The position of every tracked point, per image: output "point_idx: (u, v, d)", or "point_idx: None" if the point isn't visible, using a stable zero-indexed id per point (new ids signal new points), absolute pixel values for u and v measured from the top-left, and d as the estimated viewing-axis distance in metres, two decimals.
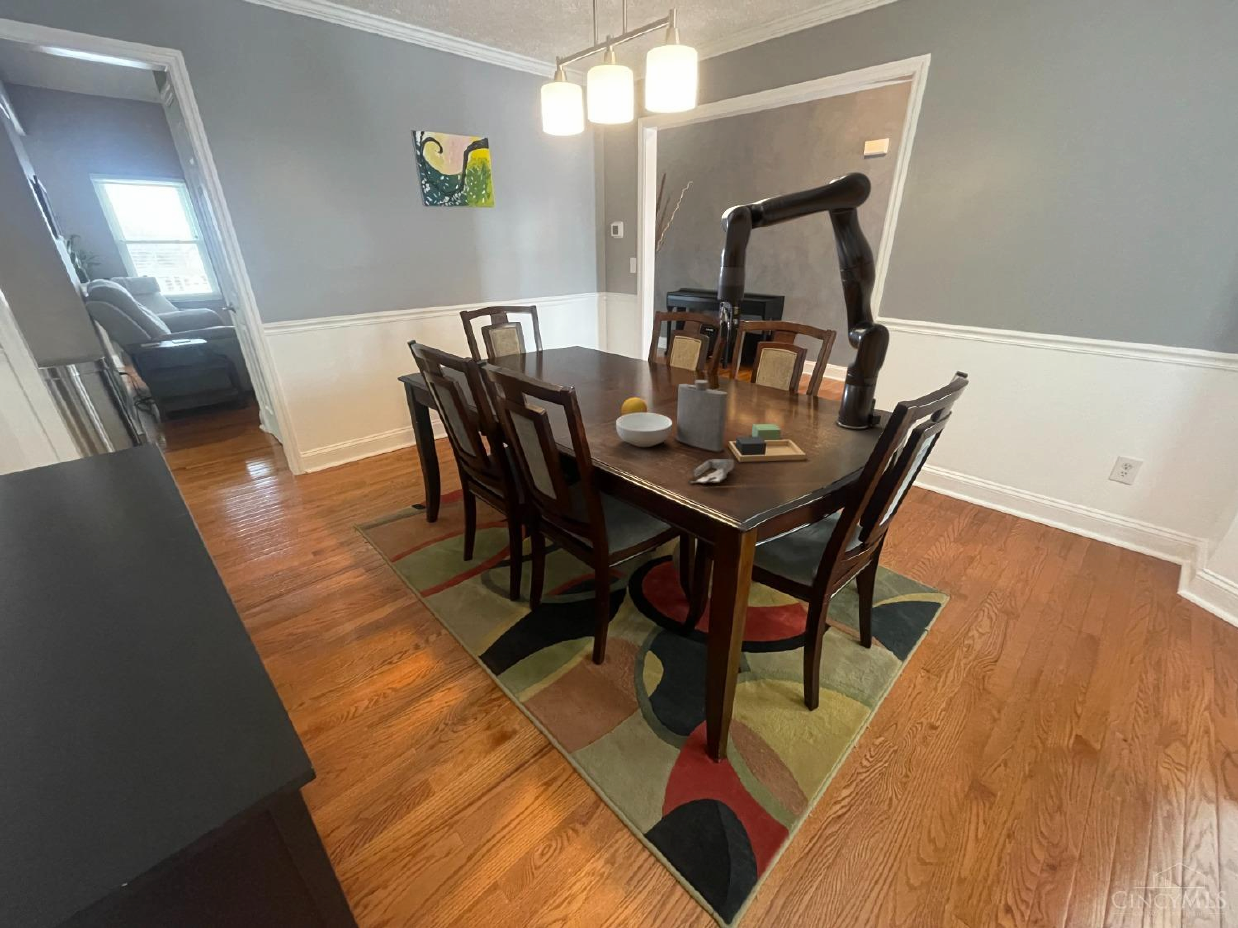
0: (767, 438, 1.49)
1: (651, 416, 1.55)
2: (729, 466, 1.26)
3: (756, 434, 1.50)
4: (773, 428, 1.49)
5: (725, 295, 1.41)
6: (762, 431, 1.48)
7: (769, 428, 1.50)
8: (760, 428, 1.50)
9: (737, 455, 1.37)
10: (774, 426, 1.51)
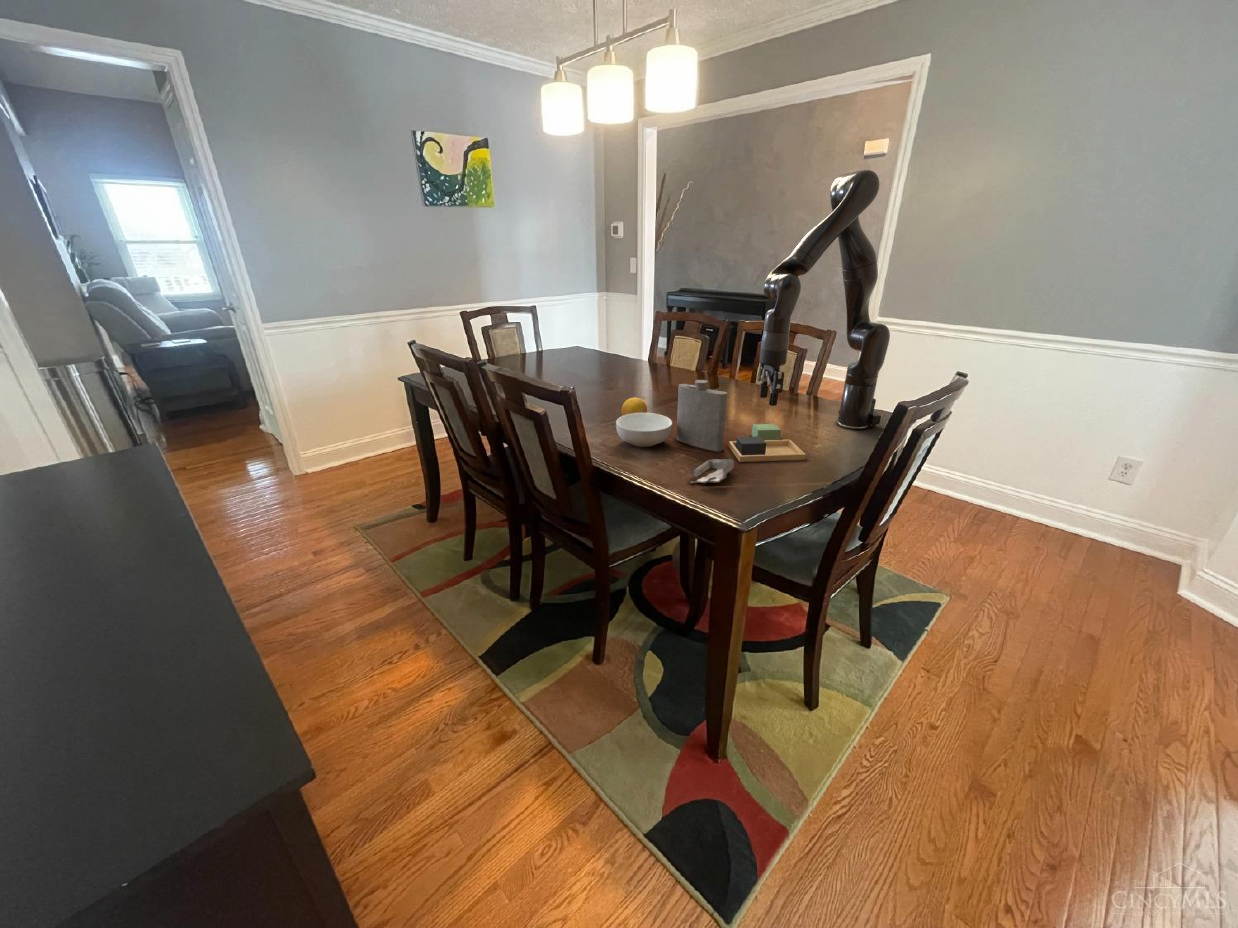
0: (767, 438, 1.49)
1: (651, 416, 1.55)
2: (729, 466, 1.26)
3: (756, 434, 1.50)
4: (773, 428, 1.49)
5: (768, 359, 1.40)
6: (762, 431, 1.48)
7: (769, 428, 1.50)
8: (760, 428, 1.50)
9: (737, 455, 1.37)
10: (774, 426, 1.51)
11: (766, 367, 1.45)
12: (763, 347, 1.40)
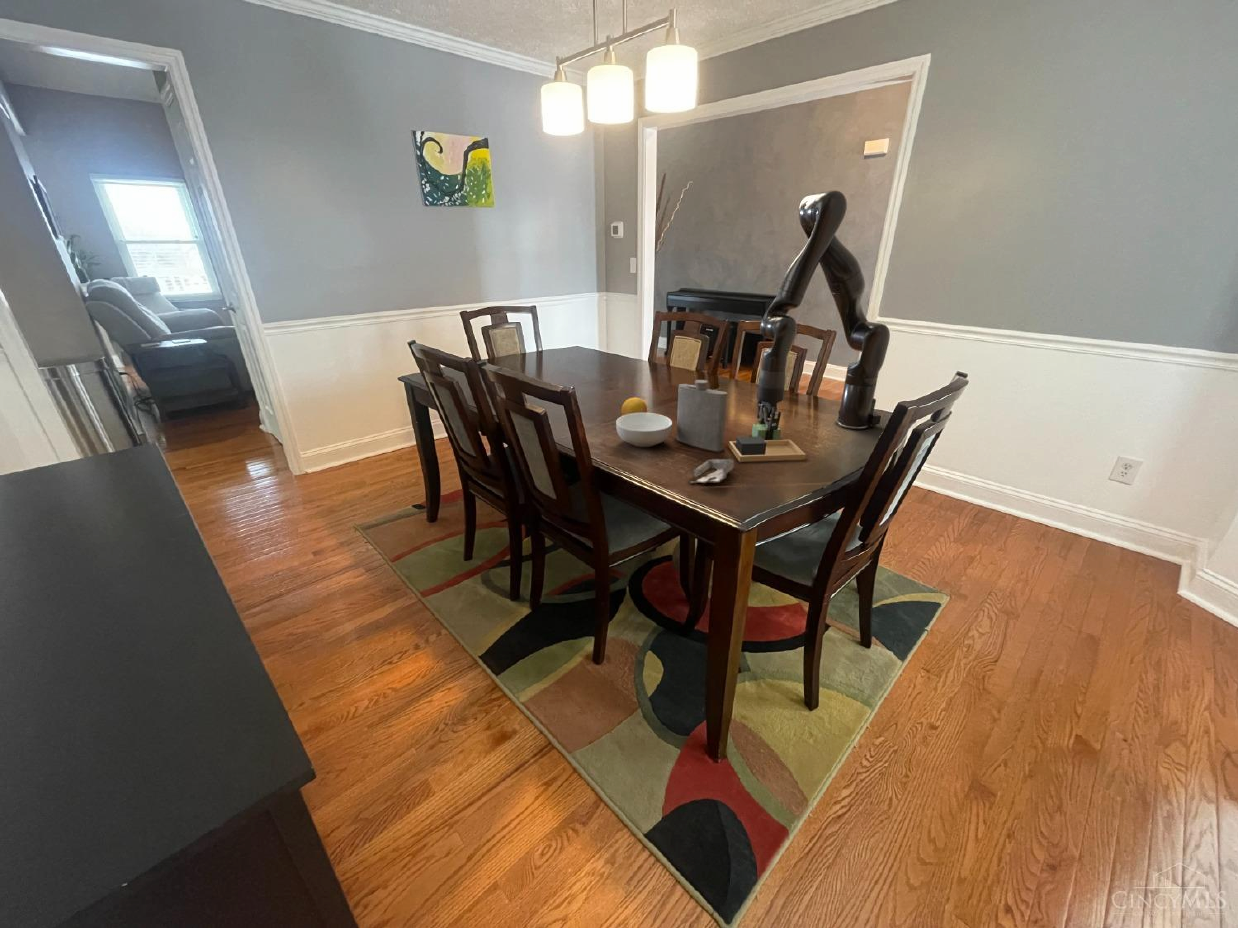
0: None
1: (651, 416, 1.55)
2: (729, 466, 1.26)
3: (756, 434, 1.50)
4: None
5: (765, 396, 1.44)
6: (762, 431, 1.48)
7: None
8: (760, 428, 1.50)
9: (737, 455, 1.37)
10: None
11: (764, 403, 1.49)
12: (760, 385, 1.44)
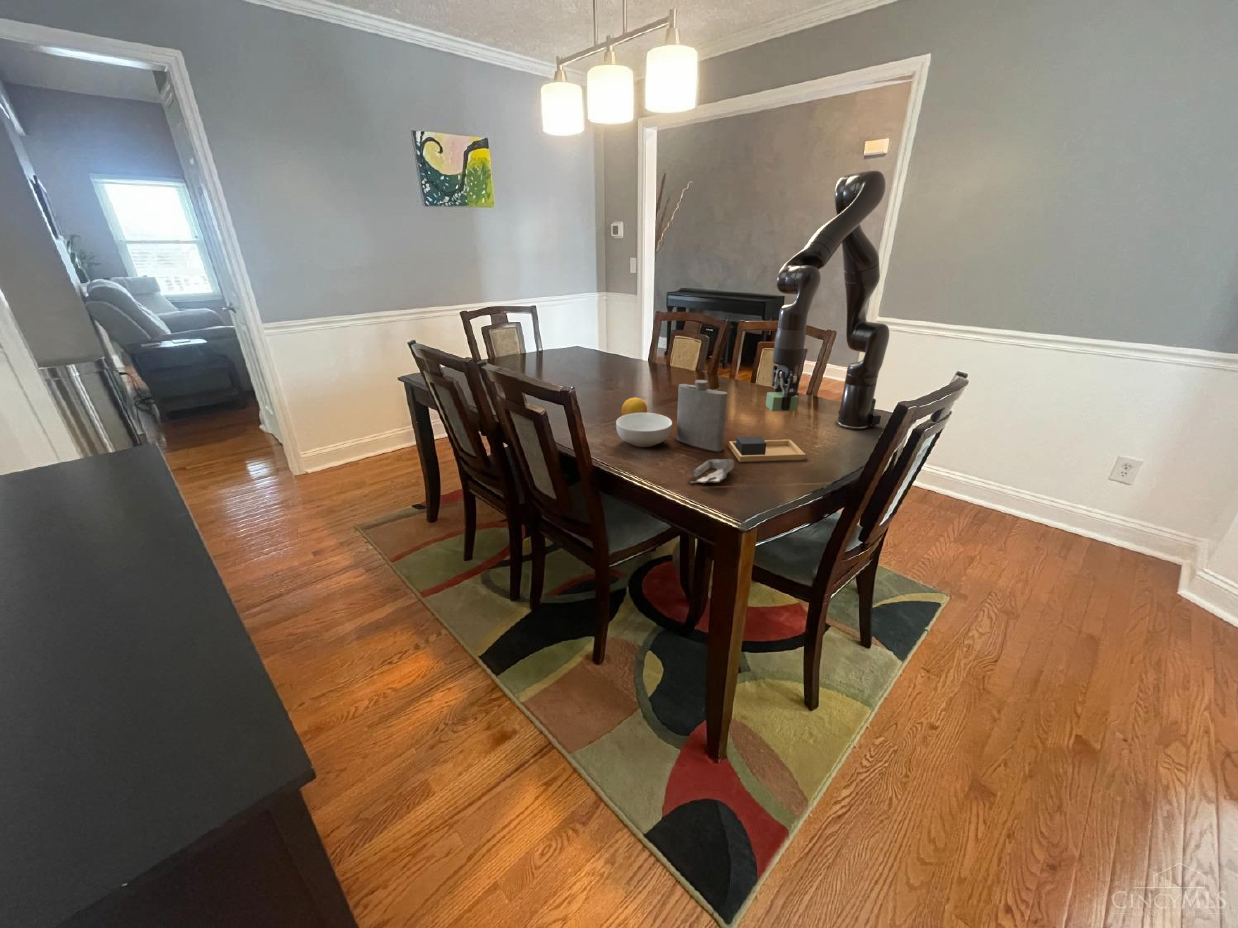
0: None
1: (651, 416, 1.55)
2: (729, 466, 1.26)
3: (771, 402, 1.35)
4: None
5: (783, 359, 1.29)
6: (778, 398, 1.33)
7: None
8: (775, 395, 1.35)
9: (737, 455, 1.37)
10: None
11: (780, 367, 1.34)
12: (777, 346, 1.29)
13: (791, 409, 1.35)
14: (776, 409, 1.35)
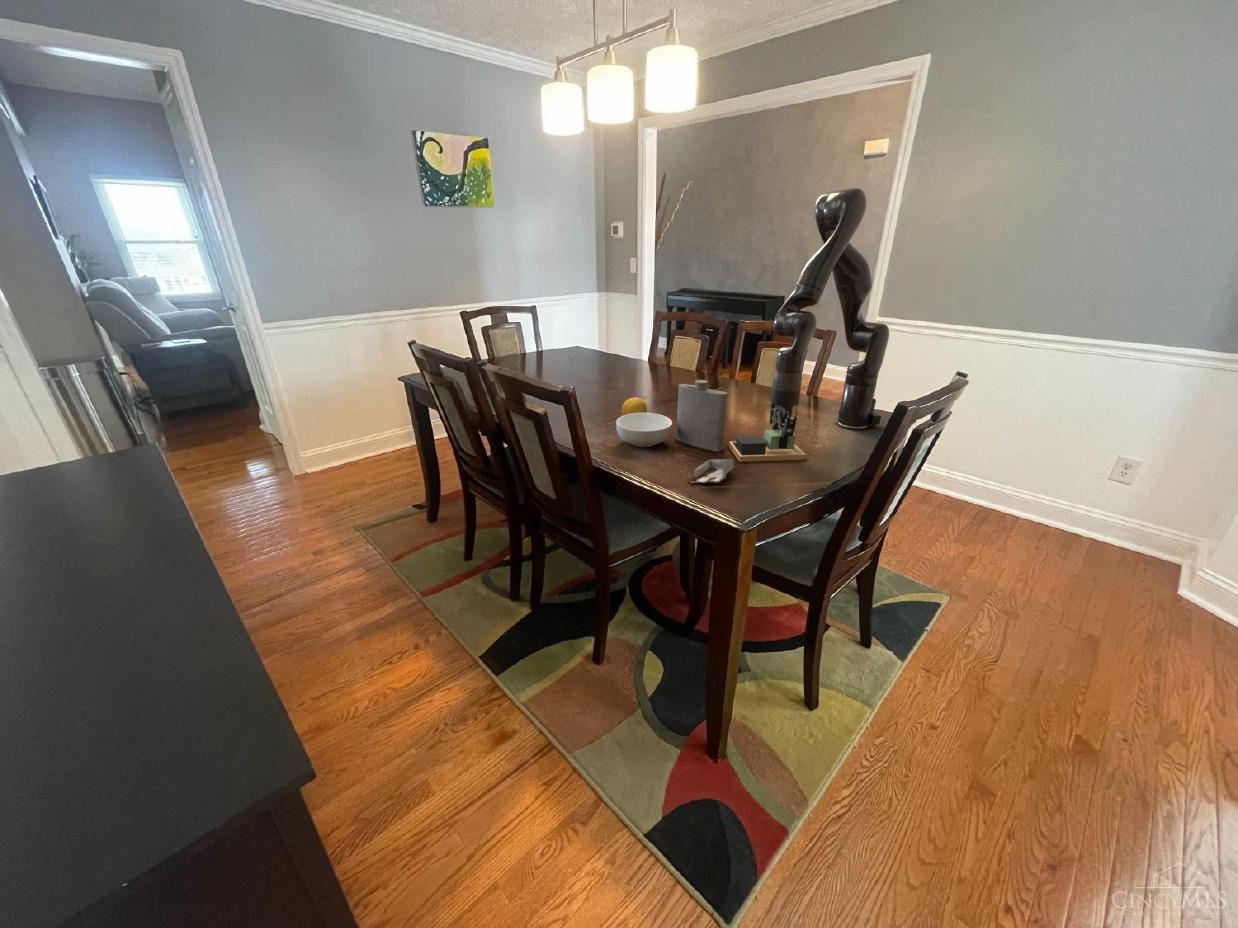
0: None
1: (651, 416, 1.55)
2: (729, 466, 1.26)
3: (769, 441, 1.38)
4: None
5: (780, 400, 1.32)
6: (775, 437, 1.36)
7: None
8: (773, 434, 1.38)
9: (737, 455, 1.37)
10: None
11: (777, 407, 1.37)
12: (774, 387, 1.32)
13: (788, 447, 1.38)
14: (774, 447, 1.38)
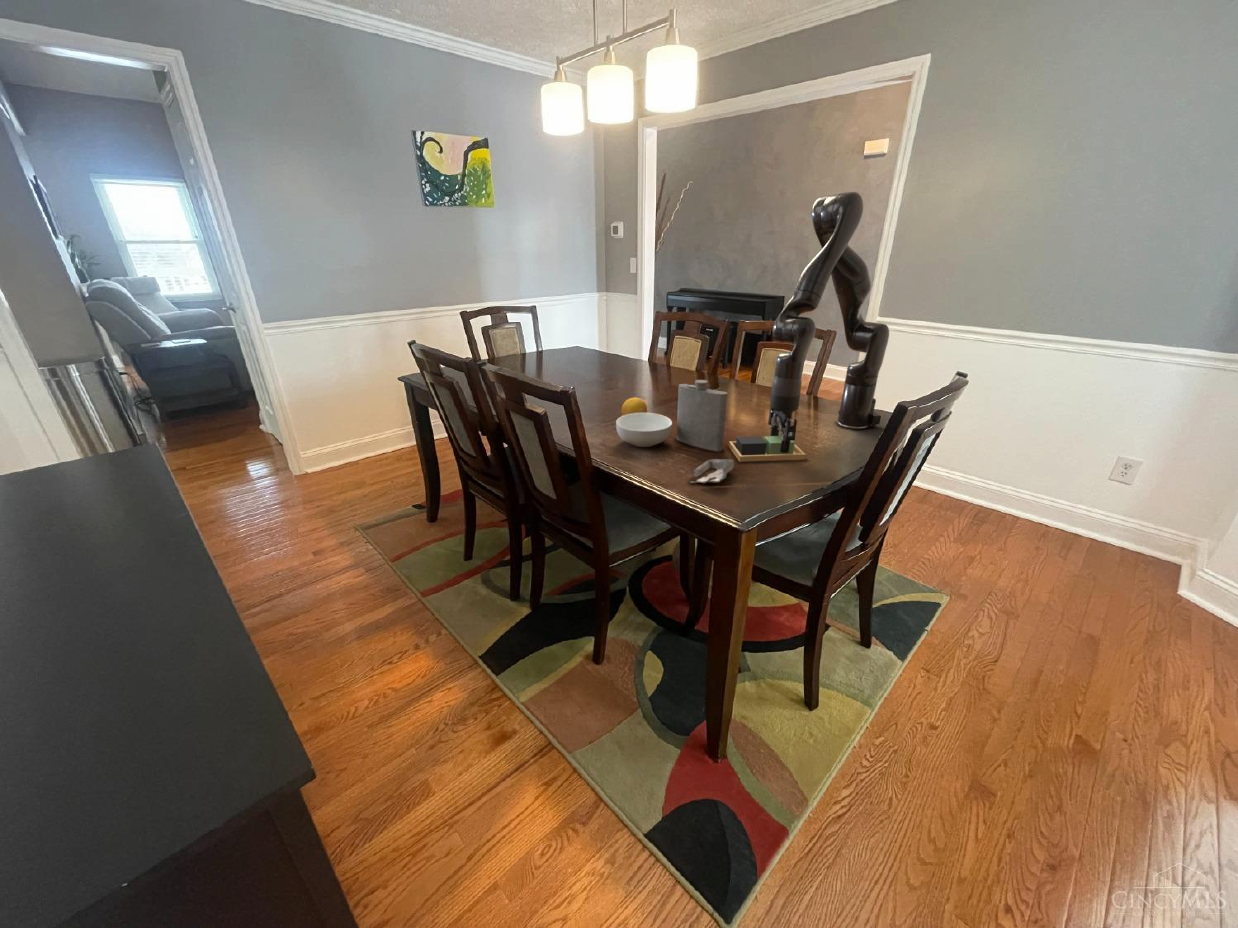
0: None
1: (651, 416, 1.55)
2: (729, 466, 1.26)
3: (768, 447, 1.39)
4: None
5: (779, 405, 1.33)
6: (775, 444, 1.37)
7: None
8: (772, 440, 1.39)
9: (737, 455, 1.37)
10: None
11: (777, 412, 1.38)
12: (774, 392, 1.33)
13: None
14: None
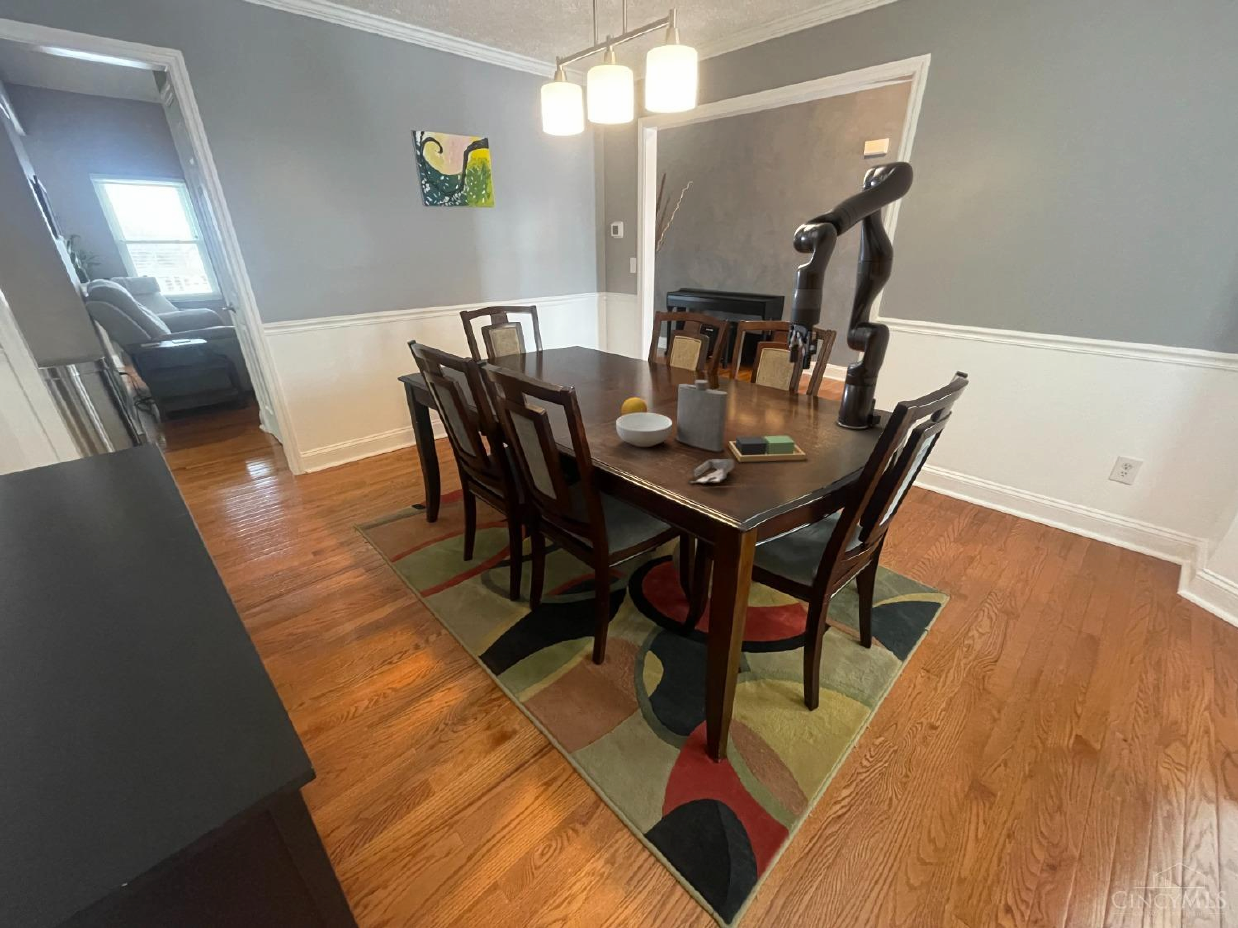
0: (780, 451, 1.38)
1: (651, 416, 1.55)
2: (729, 466, 1.26)
3: (768, 447, 1.39)
4: (786, 441, 1.38)
5: (800, 318, 1.30)
6: (775, 444, 1.37)
7: (782, 441, 1.38)
8: (772, 440, 1.39)
9: (737, 455, 1.37)
10: (787, 438, 1.40)
11: (797, 328, 1.35)
12: (795, 306, 1.30)
13: None
14: None
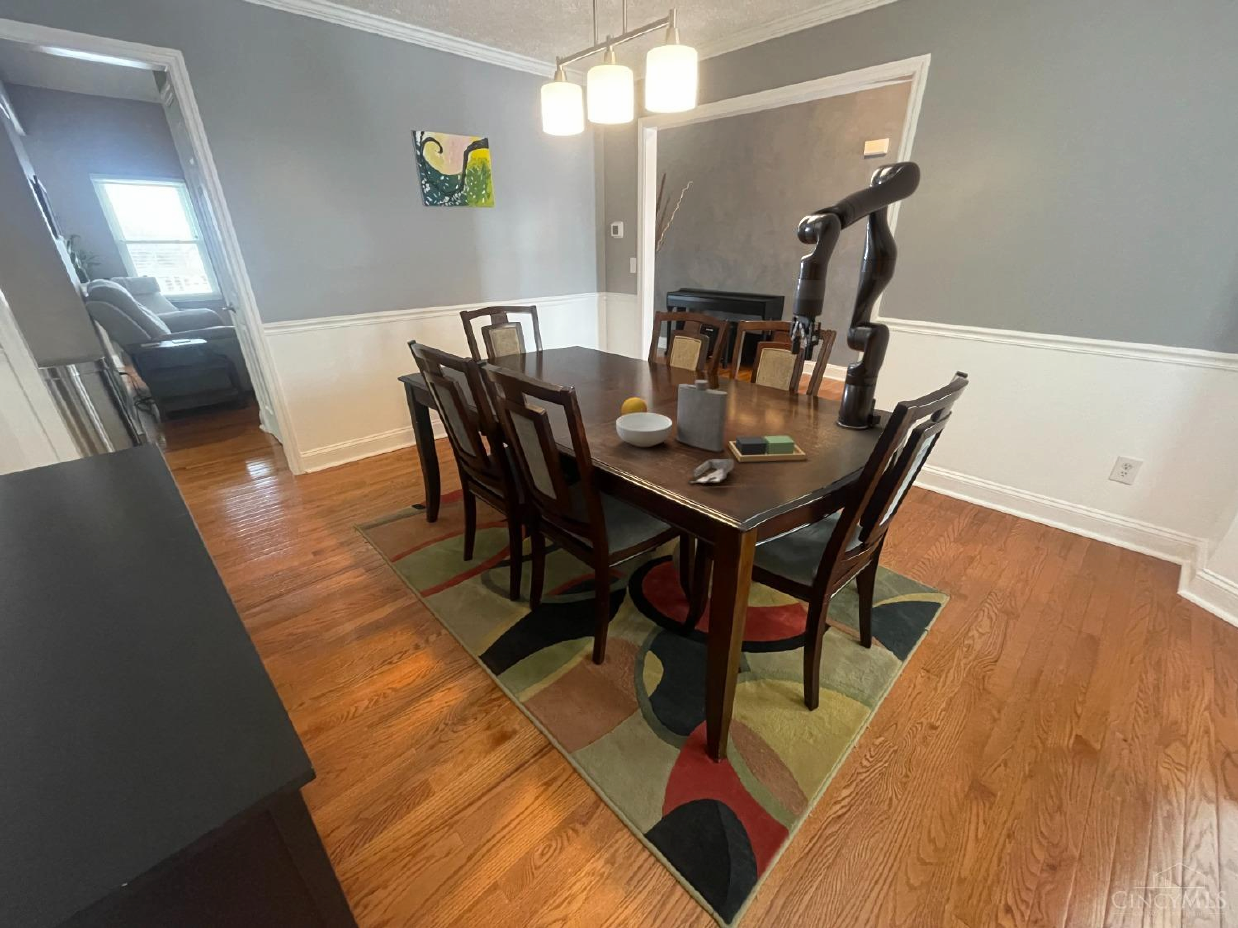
0: (780, 451, 1.38)
1: (651, 416, 1.55)
2: (729, 466, 1.26)
3: (768, 447, 1.39)
4: (786, 441, 1.38)
5: (803, 309, 1.31)
6: (775, 444, 1.37)
7: (782, 441, 1.38)
8: (772, 440, 1.39)
9: (737, 455, 1.37)
10: (787, 438, 1.40)
11: (800, 320, 1.36)
12: (797, 296, 1.31)
13: None
14: None
